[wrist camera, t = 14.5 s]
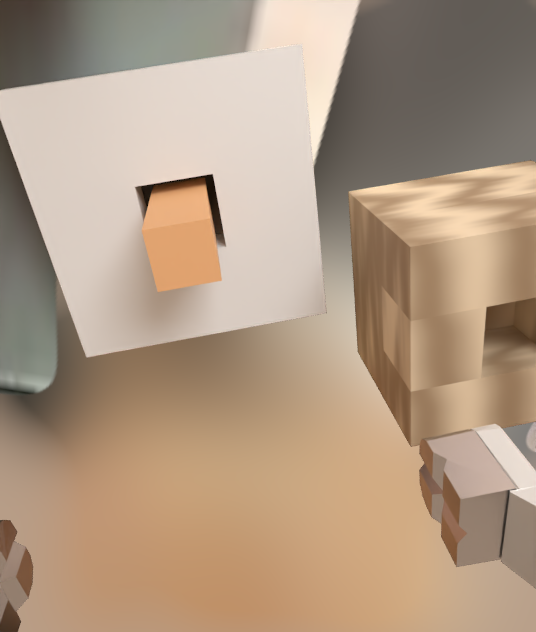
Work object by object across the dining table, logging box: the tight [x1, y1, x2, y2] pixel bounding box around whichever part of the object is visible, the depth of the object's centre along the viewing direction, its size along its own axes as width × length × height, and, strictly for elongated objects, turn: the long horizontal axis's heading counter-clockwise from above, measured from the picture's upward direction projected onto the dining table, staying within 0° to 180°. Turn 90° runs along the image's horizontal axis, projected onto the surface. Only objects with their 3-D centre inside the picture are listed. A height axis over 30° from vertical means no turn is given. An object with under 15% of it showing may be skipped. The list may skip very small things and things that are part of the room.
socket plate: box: [0, 44, 327, 357], centre depth 35 cm, size 18×18×3 cm
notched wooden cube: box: [348, 160, 536, 447], centre depth 36 cm, size 14×14×12 cm
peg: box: [142, 177, 222, 292], centre depth 32 cm, size 4×4×10 cm
